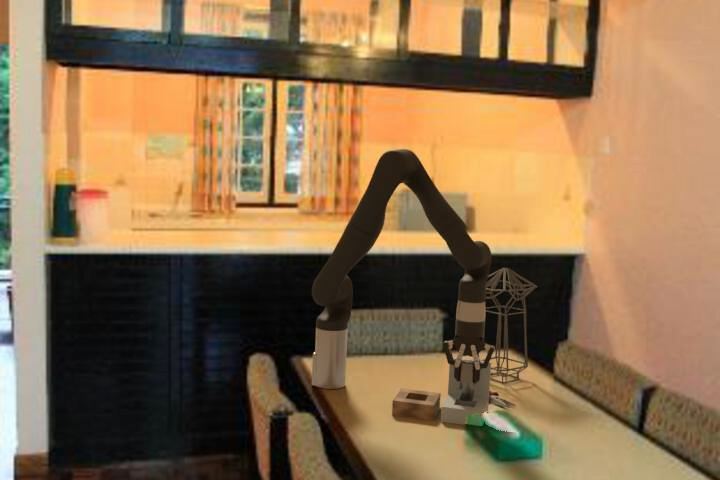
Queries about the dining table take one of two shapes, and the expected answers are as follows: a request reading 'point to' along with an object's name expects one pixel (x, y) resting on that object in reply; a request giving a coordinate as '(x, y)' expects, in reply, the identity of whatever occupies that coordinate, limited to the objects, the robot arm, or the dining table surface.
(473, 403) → the block
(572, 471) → the dining table surface
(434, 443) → the dining table surface
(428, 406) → the socket block
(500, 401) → the pliers
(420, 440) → the dining table surface
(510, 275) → the geometric lantern
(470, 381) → the steel rod
